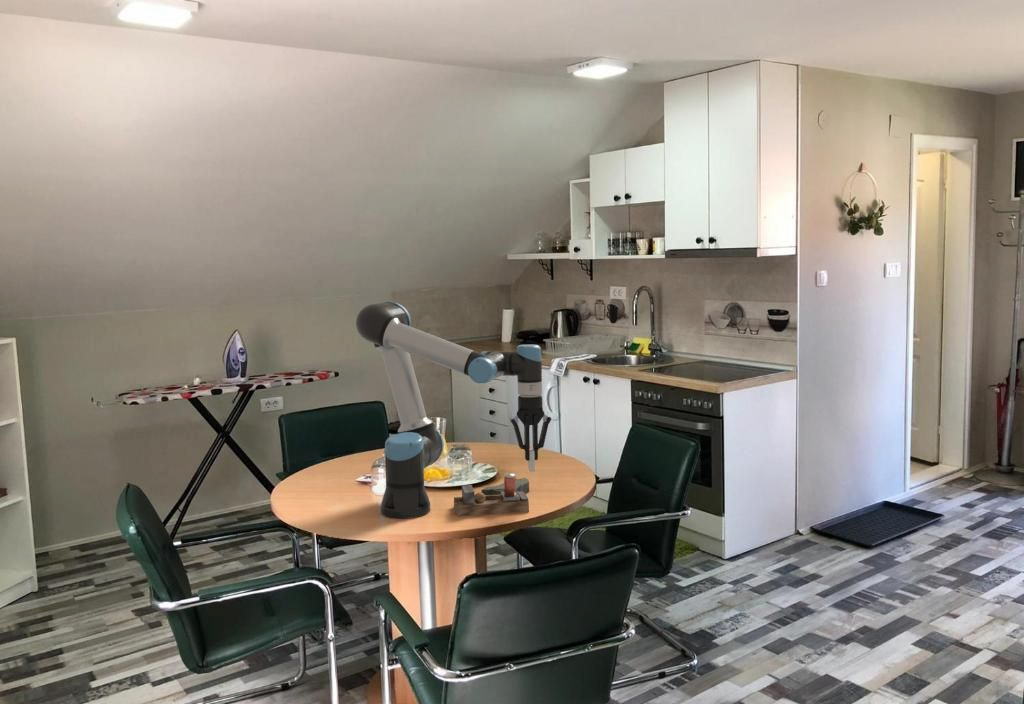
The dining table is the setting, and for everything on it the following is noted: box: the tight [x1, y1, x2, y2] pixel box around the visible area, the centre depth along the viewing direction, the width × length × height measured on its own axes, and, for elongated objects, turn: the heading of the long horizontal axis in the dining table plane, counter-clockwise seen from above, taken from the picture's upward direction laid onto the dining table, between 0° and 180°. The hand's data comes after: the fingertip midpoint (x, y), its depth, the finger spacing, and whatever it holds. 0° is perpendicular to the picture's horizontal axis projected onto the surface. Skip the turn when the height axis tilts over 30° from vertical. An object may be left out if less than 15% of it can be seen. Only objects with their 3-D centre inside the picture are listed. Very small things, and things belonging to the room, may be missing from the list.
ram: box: [500, 472, 520, 502], centre depth 259 cm, size 5×7×8 cm
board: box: [453, 484, 530, 517], centre depth 259 cm, size 22×10×7 cm, turn 99°
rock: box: [481, 477, 530, 495], centre depth 275 cm, size 12×16×5 cm
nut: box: [475, 491, 485, 504], centre depth 258 cm, size 4×4×4 cm
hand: (531, 470), depth 260 cm, fingers closed
